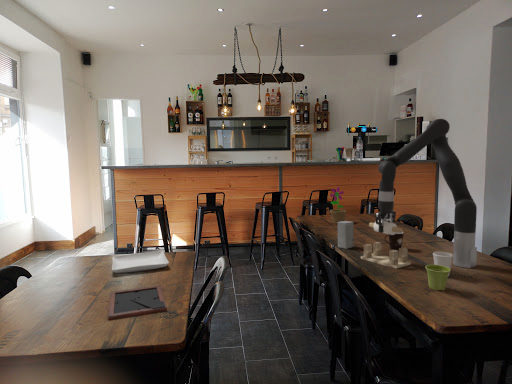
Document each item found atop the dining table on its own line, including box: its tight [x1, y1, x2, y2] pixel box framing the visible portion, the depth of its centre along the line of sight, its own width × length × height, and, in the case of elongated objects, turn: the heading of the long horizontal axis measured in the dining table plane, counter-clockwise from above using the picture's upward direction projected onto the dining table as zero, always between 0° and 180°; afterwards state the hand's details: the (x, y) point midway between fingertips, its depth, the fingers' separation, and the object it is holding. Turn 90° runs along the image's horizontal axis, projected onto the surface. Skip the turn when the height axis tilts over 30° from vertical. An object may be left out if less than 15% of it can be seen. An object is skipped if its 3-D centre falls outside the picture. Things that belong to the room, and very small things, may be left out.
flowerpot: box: [329, 186, 348, 225], centre depth 301 cm, size 14×14×30 cm
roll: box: [368, 220, 404, 235], centre depth 187 cm, size 19×6×6 cm, turn 32°
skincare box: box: [337, 220, 355, 250], centre depth 219 cm, size 8×7×16 cm
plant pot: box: [425, 264, 452, 291], centre depth 149 cm, size 9×9×9 cm
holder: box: [360, 241, 412, 269], centre depth 188 cm, size 22×12×8 cm, turn 33°
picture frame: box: [107, 284, 168, 321], centre depth 139 cm, size 20×2×25 cm
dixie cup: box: [432, 251, 453, 277], centre depth 165 cm, size 8×8×10 cm
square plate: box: [111, 250, 170, 274], centre depth 188 cm, size 27×27×4 cm
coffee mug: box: [384, 231, 404, 251], centre depth 213 cm, size 12×9×10 cm
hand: (385, 231), depth 187 cm, fingers closed on roll, 6 cm apart
